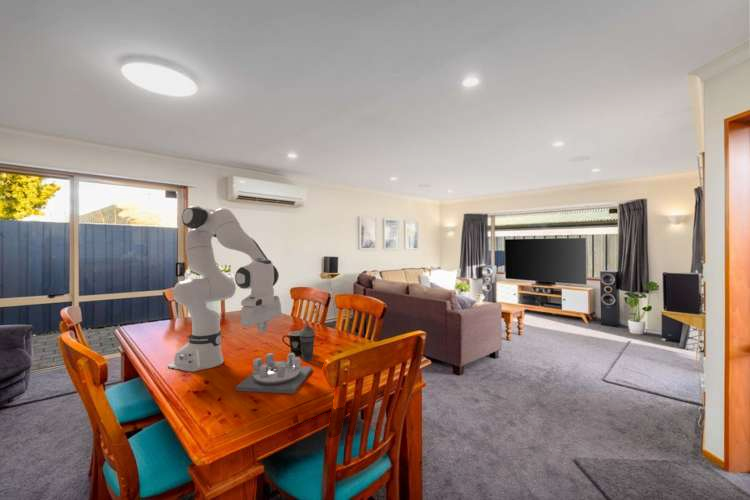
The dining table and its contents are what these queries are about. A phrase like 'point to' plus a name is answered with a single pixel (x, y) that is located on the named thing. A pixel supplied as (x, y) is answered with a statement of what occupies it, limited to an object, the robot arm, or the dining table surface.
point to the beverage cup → (307, 342)
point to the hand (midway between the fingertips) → (262, 332)
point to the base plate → (282, 388)
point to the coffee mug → (294, 342)
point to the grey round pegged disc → (276, 370)
